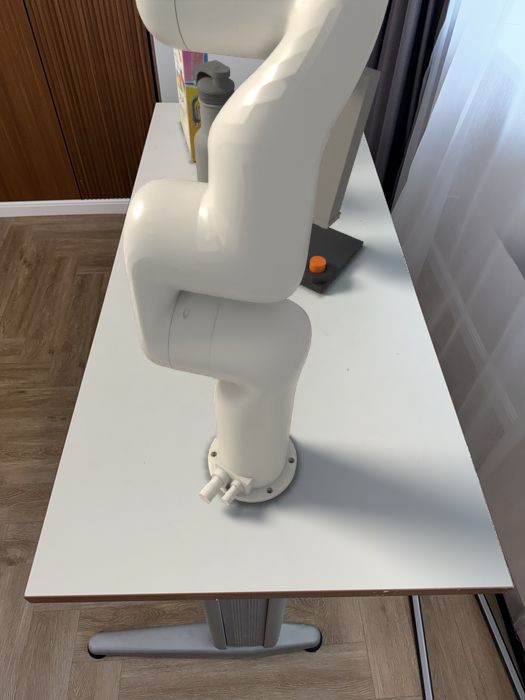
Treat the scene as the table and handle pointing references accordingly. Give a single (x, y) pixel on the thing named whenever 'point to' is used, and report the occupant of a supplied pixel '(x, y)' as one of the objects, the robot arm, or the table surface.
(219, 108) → the water bottle
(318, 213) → the grey tall block
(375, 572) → the table surface
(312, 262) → the tare button
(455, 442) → the table surface
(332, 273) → the scale
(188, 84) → the game box
